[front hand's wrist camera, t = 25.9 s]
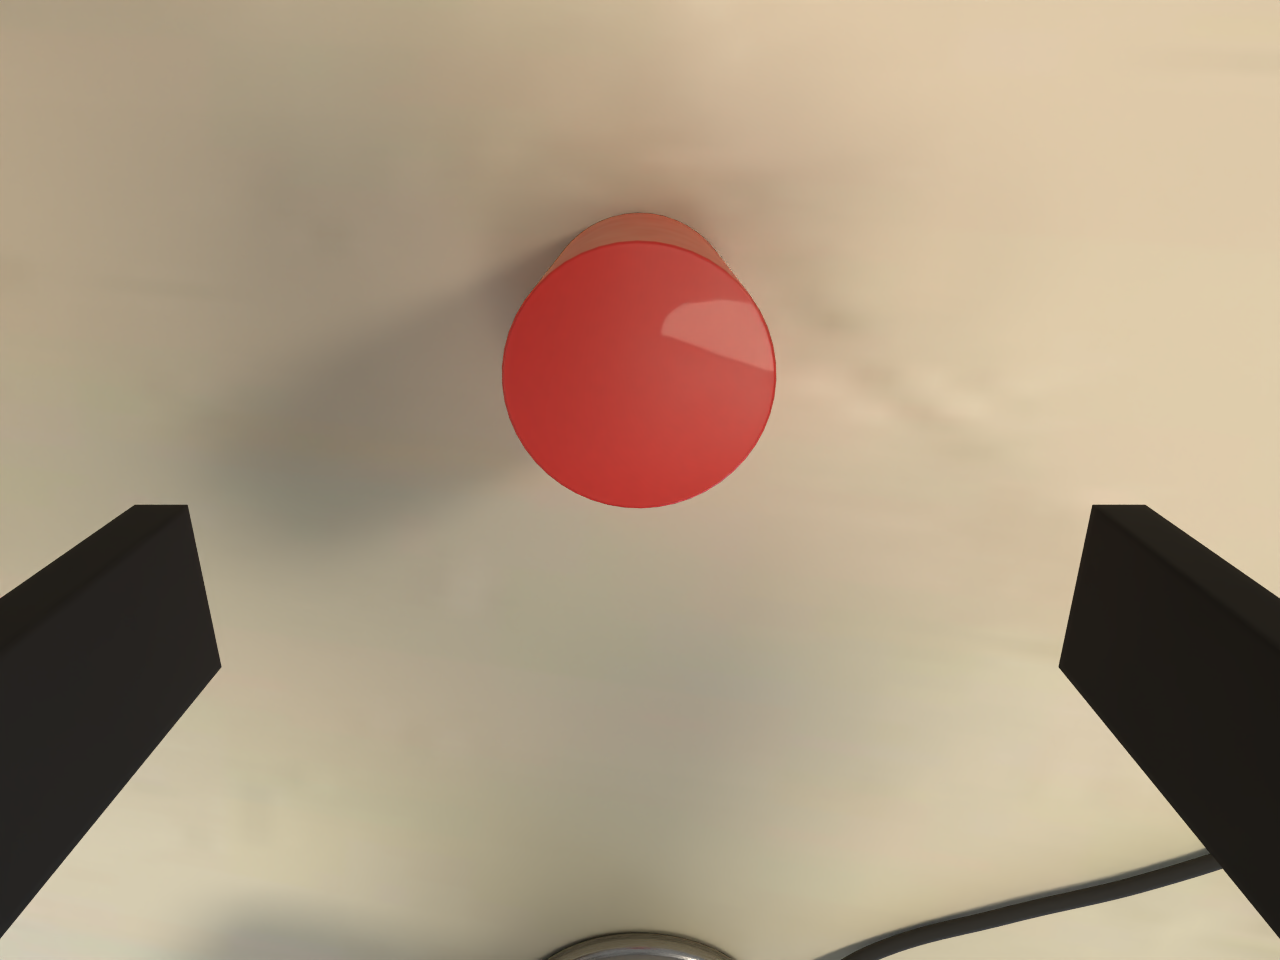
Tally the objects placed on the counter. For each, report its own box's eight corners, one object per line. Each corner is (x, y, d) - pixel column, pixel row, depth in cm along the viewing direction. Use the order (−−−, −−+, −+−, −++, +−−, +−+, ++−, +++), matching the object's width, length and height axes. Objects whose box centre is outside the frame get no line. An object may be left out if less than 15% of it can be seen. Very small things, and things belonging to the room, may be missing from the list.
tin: (517, 245, 33) (461, 286, 23) (708, 187, 32) (741, 203, 22) (576, 425, 36) (550, 537, 25) (754, 377, 35) (802, 471, 25)
